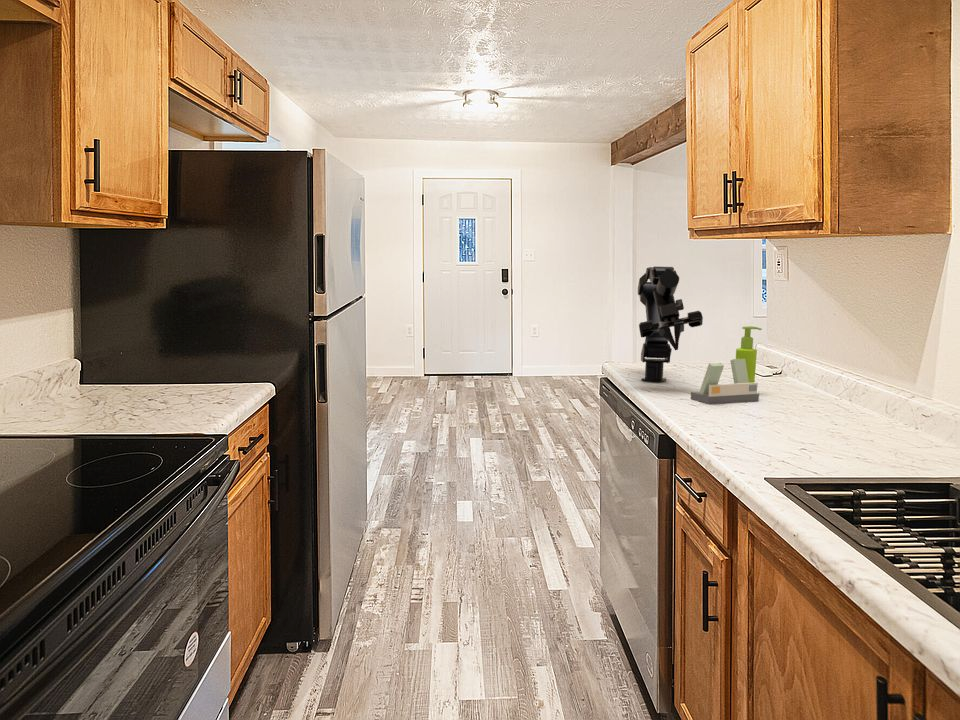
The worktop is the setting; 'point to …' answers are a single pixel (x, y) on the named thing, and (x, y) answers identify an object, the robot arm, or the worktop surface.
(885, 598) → the worktop surface
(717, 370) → the flip switch
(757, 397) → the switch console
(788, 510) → the worktop surface
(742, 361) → the hold switch
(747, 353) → the soap dispenser
